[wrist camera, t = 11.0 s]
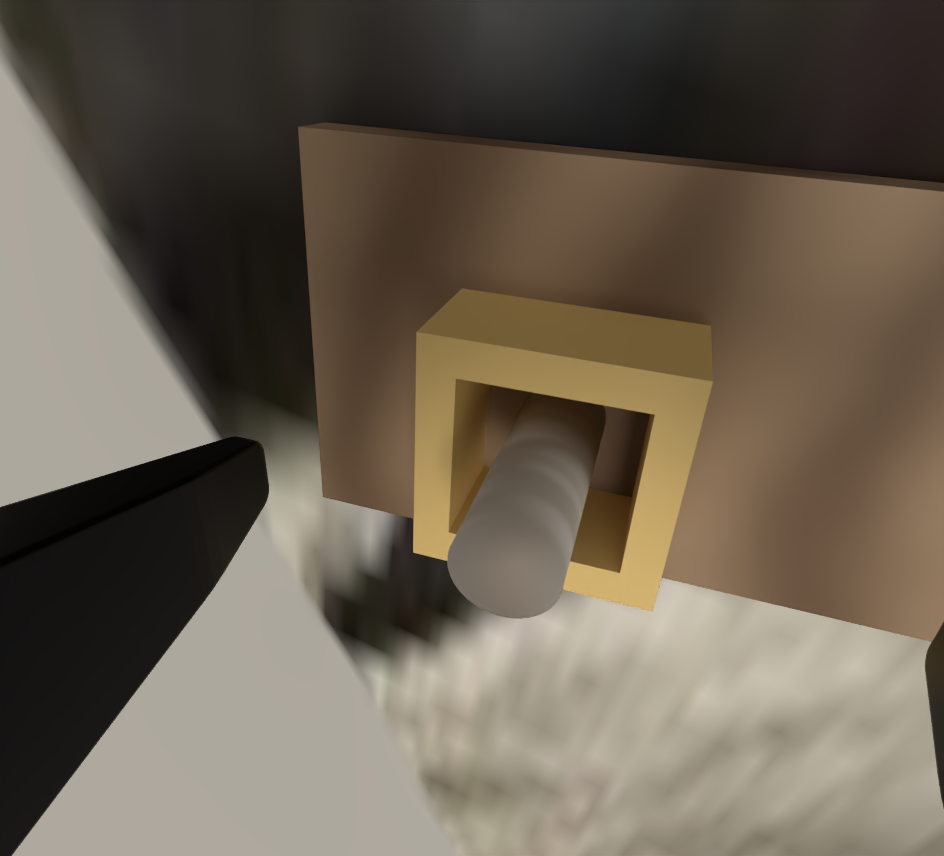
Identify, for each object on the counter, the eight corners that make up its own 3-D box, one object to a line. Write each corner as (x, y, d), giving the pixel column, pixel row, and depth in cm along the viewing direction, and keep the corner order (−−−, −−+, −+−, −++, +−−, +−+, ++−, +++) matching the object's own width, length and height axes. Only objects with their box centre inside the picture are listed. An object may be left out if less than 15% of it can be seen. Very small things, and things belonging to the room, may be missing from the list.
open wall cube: (710, 325, 17) (713, 381, 14) (659, 531, 20) (652, 612, 17) (462, 288, 18) (416, 331, 15) (452, 485, 21) (413, 552, 19)
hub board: (1168, 204, 14) (1638, 348, 7) (939, 611, 20) (1070, 909, 13) (325, 122, 19) (94, 159, 12) (342, 474, 25) (197, 642, 18)
